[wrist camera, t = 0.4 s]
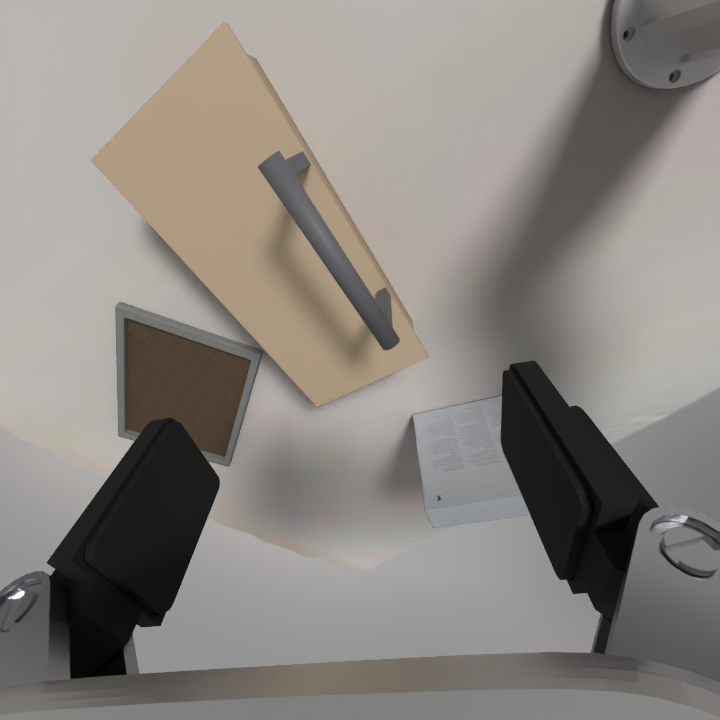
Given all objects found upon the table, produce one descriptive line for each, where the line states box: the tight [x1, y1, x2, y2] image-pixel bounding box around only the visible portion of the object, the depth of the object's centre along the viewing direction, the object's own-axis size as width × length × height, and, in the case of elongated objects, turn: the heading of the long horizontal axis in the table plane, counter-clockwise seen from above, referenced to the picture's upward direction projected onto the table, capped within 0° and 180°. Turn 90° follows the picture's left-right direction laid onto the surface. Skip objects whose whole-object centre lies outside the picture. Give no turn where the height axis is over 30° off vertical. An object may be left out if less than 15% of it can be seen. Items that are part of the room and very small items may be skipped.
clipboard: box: [116, 302, 263, 466], centre depth 54 cm, size 19×2×30 cm
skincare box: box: [412, 396, 530, 528], centre depth 47 cm, size 21×5×16 cm, turn 109°
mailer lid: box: [91, 22, 429, 407], centre depth 29 cm, size 15×31×9 cm, turn 32°
